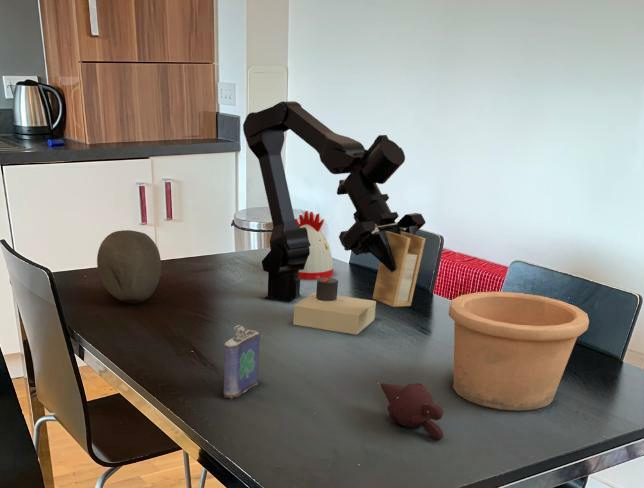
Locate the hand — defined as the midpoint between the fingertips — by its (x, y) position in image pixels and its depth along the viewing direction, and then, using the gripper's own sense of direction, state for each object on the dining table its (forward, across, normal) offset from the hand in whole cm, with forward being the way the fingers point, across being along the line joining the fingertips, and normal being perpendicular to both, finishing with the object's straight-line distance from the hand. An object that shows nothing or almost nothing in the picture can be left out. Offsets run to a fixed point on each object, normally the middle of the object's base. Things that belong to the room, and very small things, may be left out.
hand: (403, 268), depth 152 cm
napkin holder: (+4, 0, -6) cm, 7 cm away
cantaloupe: (-26, +30, -46) cm, 61 cm away
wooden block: (0, +4, -19) cm, 20 cm away
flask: (+12, +44, -7) cm, 46 cm away
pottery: (+32, +9, +13) cm, 35 cm away
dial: (-6, +3, -19) cm, 20 cm away
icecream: (+31, +33, +12) cm, 47 cm away
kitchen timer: (-25, -21, -44) cm, 55 cm away
